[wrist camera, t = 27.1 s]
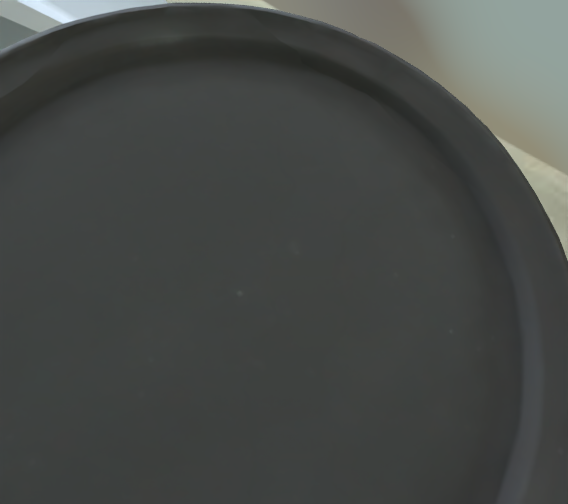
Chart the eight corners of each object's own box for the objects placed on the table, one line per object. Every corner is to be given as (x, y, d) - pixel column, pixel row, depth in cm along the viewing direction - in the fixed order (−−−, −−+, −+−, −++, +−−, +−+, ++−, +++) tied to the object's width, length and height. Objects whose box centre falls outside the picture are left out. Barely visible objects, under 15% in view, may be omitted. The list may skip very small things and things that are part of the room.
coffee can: (210, 216, 20) (156, -93, 7) (375, 324, 19) (676, 210, 6) (71, 389, 17) (-549, 440, 4) (264, 528, 16) (389, 1262, 3)
